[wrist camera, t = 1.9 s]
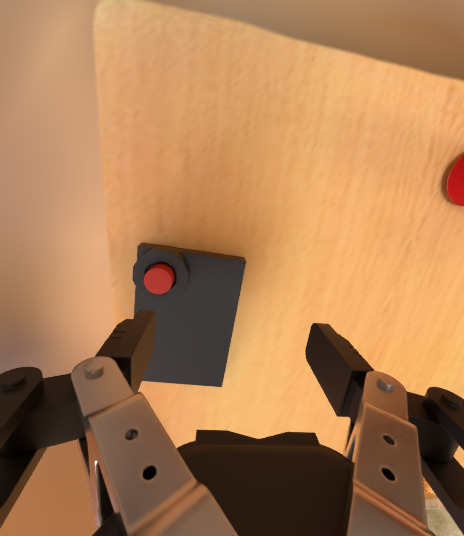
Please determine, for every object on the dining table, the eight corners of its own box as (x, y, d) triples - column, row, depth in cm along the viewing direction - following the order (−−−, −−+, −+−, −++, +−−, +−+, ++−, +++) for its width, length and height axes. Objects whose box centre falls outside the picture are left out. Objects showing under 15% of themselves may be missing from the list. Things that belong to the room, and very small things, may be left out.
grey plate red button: (142, 239, 28) (132, 246, 24) (244, 254, 29) (248, 263, 26) (134, 370, 33) (125, 390, 30) (221, 378, 35) (222, 398, 31)
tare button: (148, 261, 25) (144, 266, 24) (175, 265, 26) (173, 270, 24) (147, 286, 26) (142, 292, 25) (173, 289, 27) (170, 295, 25)
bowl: (337, 485, 51) (323, 522, 39) (417, 446, 47) (429, 475, 35) (389, 579, 43) (391, 661, 31) (490, 543, 39) (536, 622, 27)
